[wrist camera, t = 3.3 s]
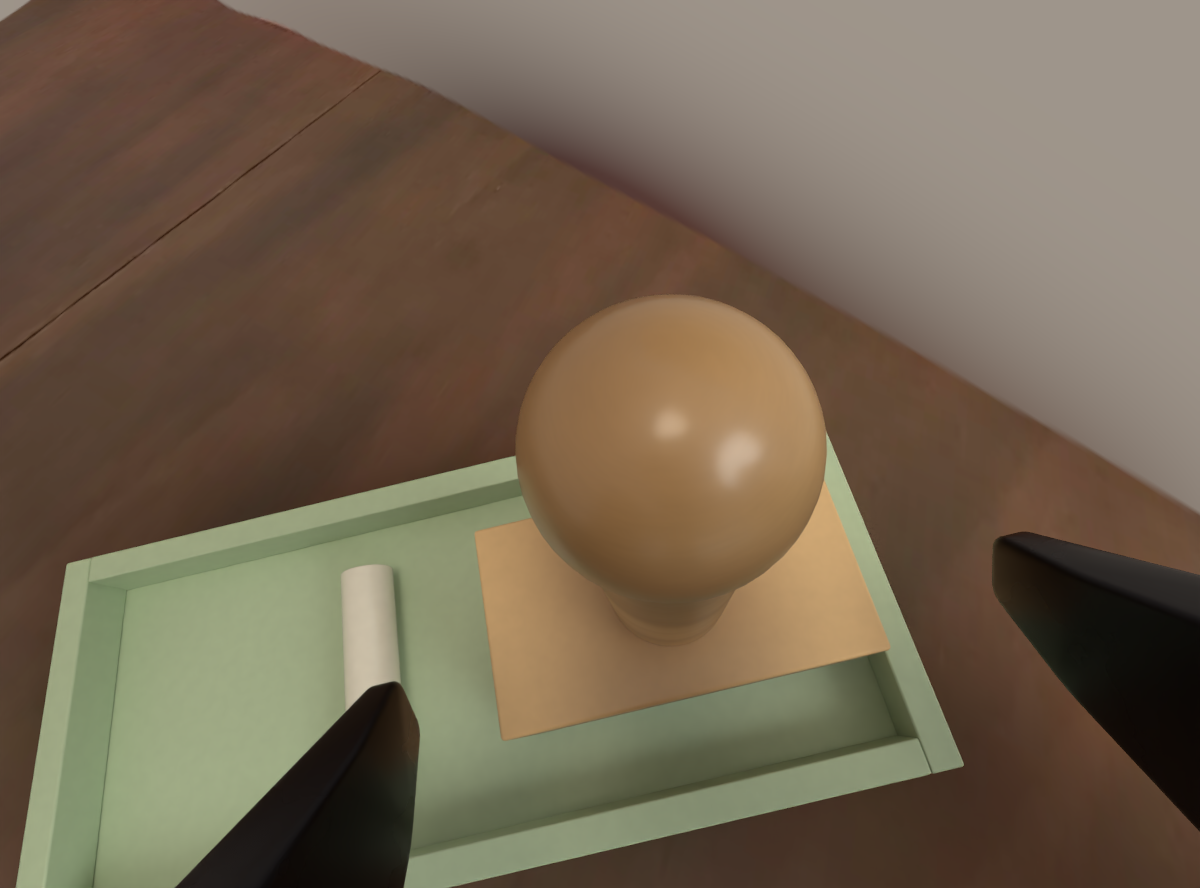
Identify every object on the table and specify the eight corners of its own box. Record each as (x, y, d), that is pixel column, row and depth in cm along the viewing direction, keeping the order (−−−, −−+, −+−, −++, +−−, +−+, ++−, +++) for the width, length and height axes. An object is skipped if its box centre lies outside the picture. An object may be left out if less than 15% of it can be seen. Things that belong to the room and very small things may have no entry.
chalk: (330, 577, 18) (359, 561, 17) (373, 580, 19) (403, 565, 19) (336, 803, 16) (370, 796, 15) (386, 790, 17) (420, 783, 16)
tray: (793, 417, 21) (807, 384, 19) (927, 758, 16) (966, 766, 14) (126, 577, 21) (65, 563, 19) (82, 957, 16) (-3, 994, 14)
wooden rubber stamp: (788, 494, 19) (1025, 68, 6) (849, 660, 17) (1382, 521, 4) (506, 561, 19) (189, 273, 6) (533, 735, 17) (140, 814, 4)
